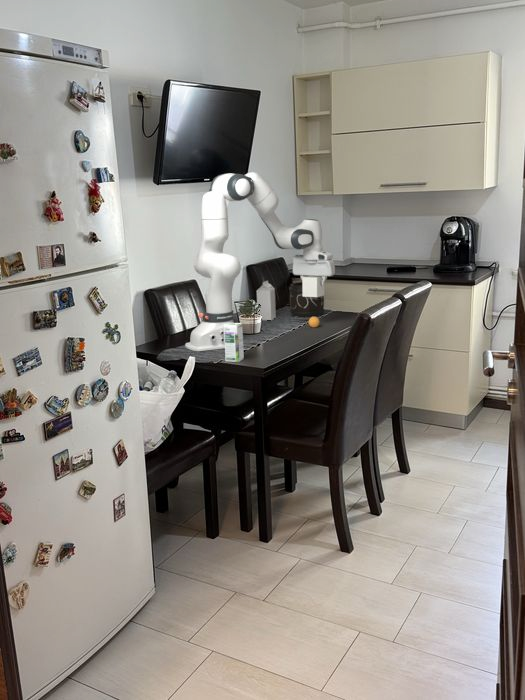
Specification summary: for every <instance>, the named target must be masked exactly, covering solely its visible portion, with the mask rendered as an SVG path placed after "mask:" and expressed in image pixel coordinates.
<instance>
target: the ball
mask: <svg viewBox="0 0 525 700" xmlns="http://www.w3.org/2000/svg"><path fill="white" fill-rule="evenodd" d="M308 325H309V326H310V327H311V328H317V327H319V325H320V319H319V318H318V317H310V318H309V320H308Z"/></svg>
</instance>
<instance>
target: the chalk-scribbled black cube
mask: <svg viewBox="0 0 525 700" xmlns="http://www.w3.org/2000/svg"><path fill="white" fill-rule="evenodd" d="M288 290H289V307H290V309H289V312H290V314H291V315H292V317H294V316H298V317H297V318H299V317H310V318H311V317H312V316H318V317H320V316H323V313H325V308H324V306H325V305H324V304H325V295H324V296H320V297H303V289H302V281H299V282H293V283H291V284H290V286H288ZM319 315H320V316H319Z"/></svg>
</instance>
